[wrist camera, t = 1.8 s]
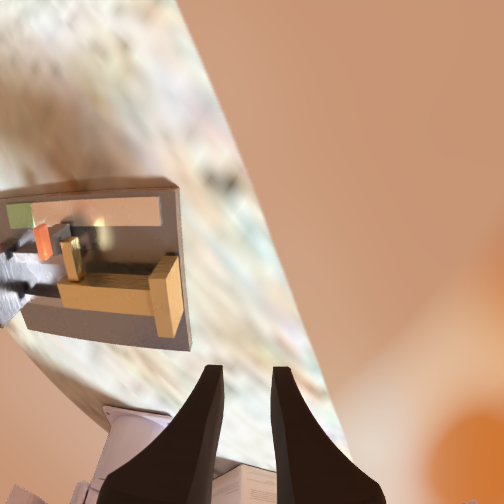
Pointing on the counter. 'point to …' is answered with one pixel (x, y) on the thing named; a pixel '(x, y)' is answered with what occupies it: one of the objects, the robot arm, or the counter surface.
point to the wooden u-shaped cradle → (124, 290)
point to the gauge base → (90, 260)
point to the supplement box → (245, 487)
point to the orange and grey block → (50, 239)
